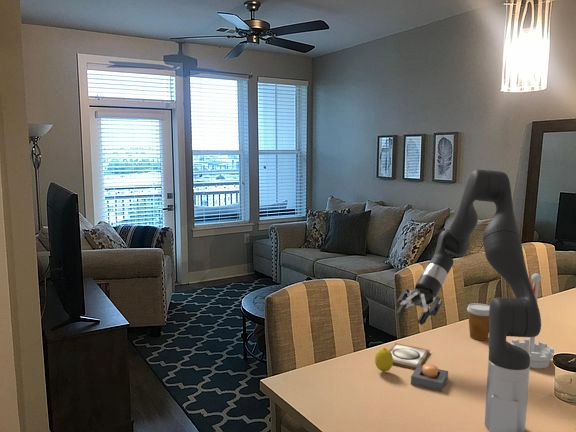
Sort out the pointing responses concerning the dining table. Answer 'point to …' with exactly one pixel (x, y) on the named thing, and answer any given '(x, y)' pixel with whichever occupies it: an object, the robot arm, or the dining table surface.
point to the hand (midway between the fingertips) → (408, 319)
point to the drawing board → (408, 355)
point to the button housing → (429, 379)
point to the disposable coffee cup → (478, 321)
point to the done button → (430, 371)
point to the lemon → (384, 360)
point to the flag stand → (537, 352)
